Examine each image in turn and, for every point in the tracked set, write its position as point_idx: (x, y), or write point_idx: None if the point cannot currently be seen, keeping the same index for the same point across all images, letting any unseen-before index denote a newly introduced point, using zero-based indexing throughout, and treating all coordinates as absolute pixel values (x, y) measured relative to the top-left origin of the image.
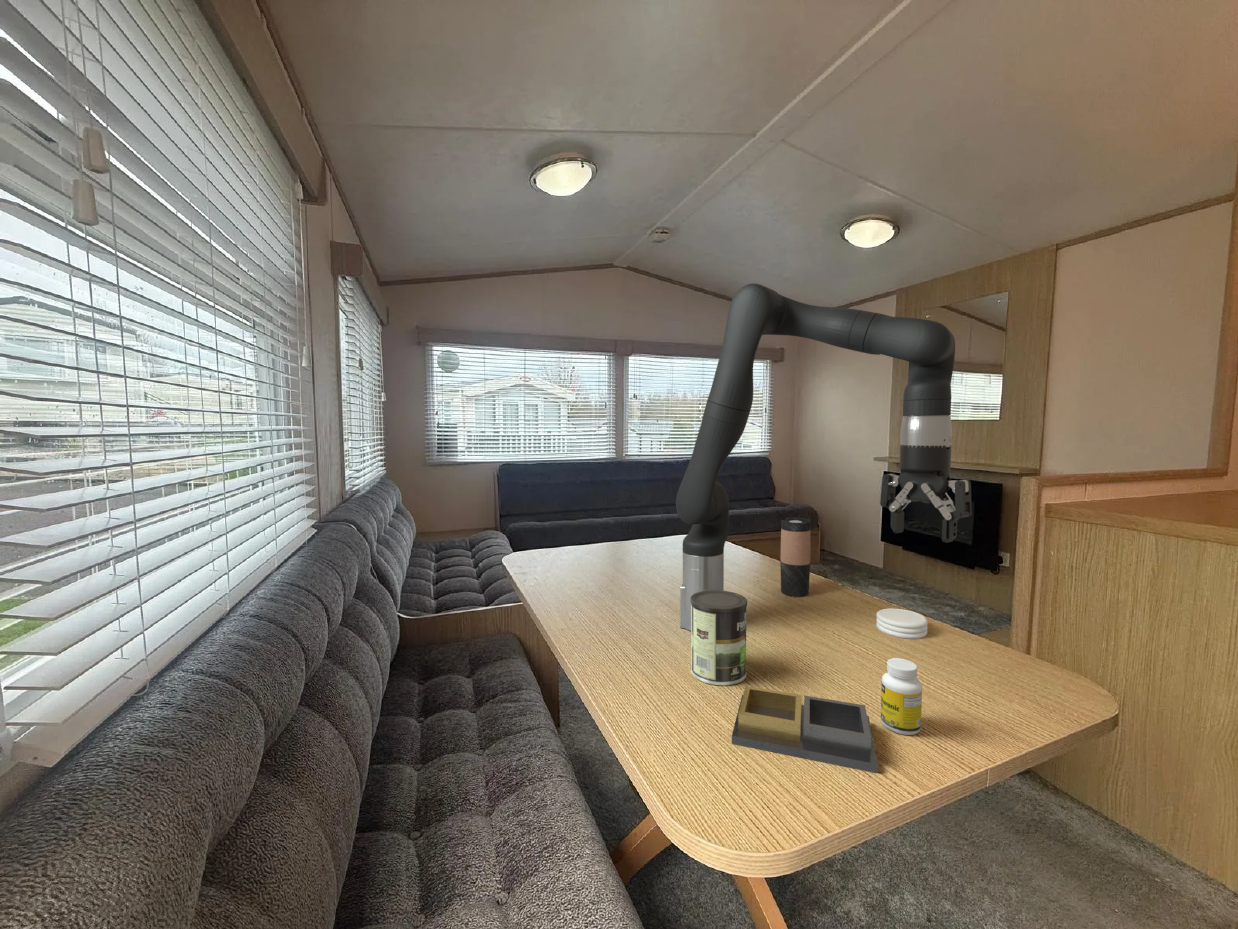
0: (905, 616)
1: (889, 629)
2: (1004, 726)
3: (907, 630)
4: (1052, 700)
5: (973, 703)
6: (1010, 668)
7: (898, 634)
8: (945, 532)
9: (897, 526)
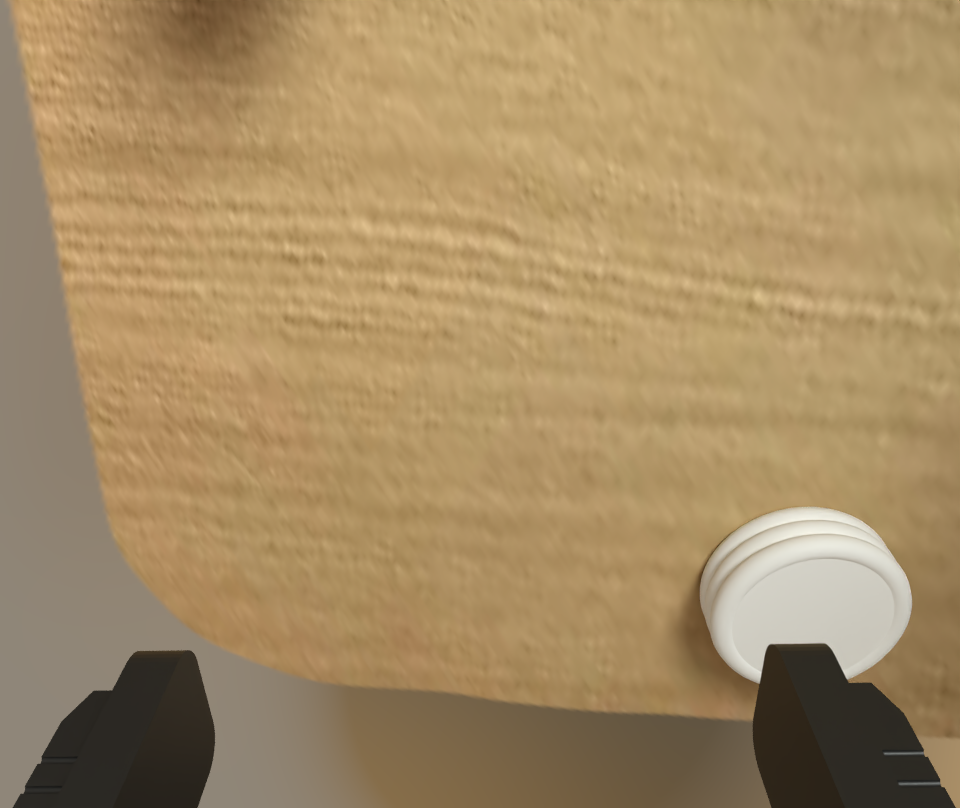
0: (799, 630)
1: (806, 520)
2: (152, 190)
3: (743, 552)
4: (212, 487)
5: (298, 253)
6: (400, 588)
7: (766, 522)
8: (95, 738)
9: (795, 717)
